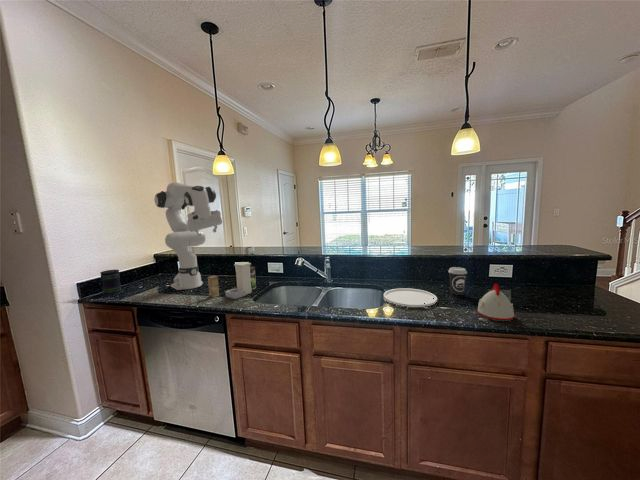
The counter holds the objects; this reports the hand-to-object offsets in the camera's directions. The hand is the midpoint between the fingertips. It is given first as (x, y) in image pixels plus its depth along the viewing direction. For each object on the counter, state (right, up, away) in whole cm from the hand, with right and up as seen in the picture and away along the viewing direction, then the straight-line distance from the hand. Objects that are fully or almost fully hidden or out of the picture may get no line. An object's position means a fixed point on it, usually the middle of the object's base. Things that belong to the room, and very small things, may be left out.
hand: (207, 234), depth 167 cm
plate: (+121, -37, -21) cm, 128 cm away
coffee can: (+23, -36, +10) cm, 44 cm away
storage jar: (-67, -39, +9) cm, 78 cm away
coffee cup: (+150, -35, -15) cm, 155 cm away
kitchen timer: (+151, -39, -45) cm, 163 cm away
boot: (+21, -38, -4) cm, 44 cm away
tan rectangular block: (+6, -38, -4) cm, 39 cm away
